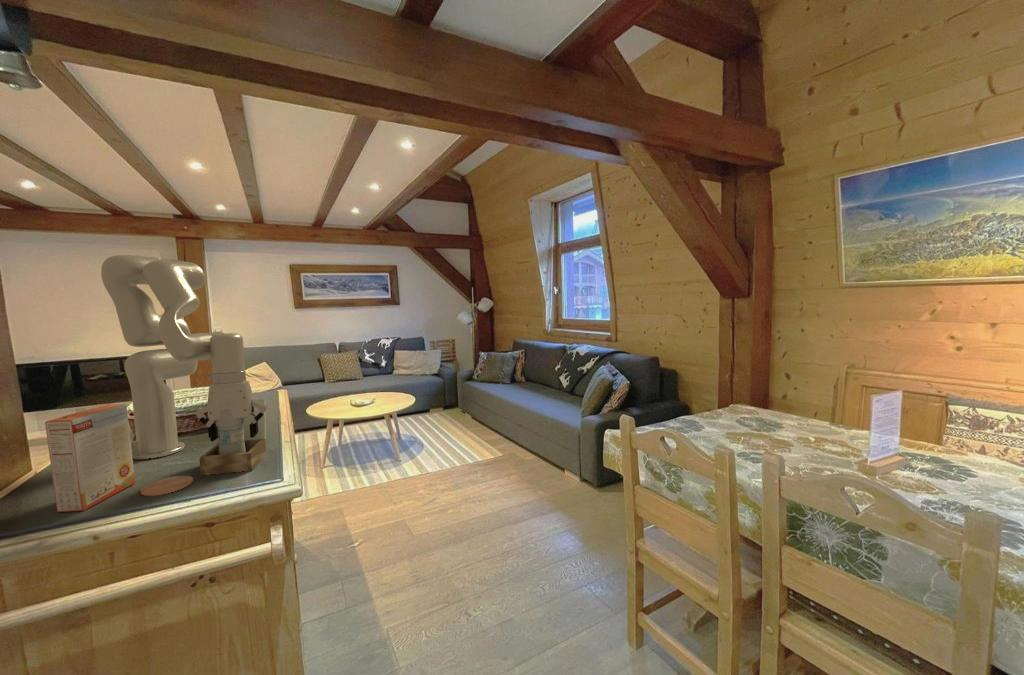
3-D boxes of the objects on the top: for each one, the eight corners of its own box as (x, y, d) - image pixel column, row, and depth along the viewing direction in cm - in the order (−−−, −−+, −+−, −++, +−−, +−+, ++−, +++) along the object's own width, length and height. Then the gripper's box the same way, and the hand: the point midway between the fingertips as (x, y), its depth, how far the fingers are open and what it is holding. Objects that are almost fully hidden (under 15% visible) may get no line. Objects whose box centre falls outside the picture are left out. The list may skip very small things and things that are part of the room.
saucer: (130, 498, 95) (130, 496, 95) (155, 480, 104) (155, 478, 104) (181, 493, 97) (180, 490, 97) (200, 476, 107) (200, 473, 107)
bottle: (233, 471, 110) (228, 399, 108) (212, 469, 112) (207, 398, 110) (253, 461, 117) (248, 393, 115) (233, 459, 118) (229, 392, 116)
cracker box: (111, 484, 102) (103, 403, 100) (136, 483, 103) (129, 403, 101) (53, 513, 88) (43, 420, 87) (83, 512, 89) (73, 419, 87)
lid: (219, 459, 118) (215, 403, 117) (225, 455, 122) (221, 400, 120) (265, 455, 121) (262, 400, 120) (269, 450, 125) (266, 397, 124)
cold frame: (200, 476, 107) (199, 457, 107) (220, 459, 119) (219, 442, 118) (252, 470, 110) (250, 453, 110) (266, 454, 122) (265, 438, 121)
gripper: (186, 382, 106) (191, 445, 108) (260, 378, 111) (264, 439, 112) (199, 377, 114) (204, 437, 115) (268, 373, 118) (272, 430, 120)
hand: (234, 437), depth 114 cm, fingers open, 9 cm apart
